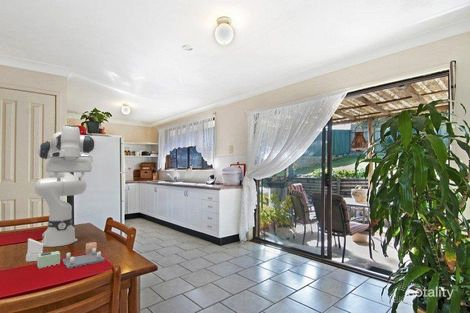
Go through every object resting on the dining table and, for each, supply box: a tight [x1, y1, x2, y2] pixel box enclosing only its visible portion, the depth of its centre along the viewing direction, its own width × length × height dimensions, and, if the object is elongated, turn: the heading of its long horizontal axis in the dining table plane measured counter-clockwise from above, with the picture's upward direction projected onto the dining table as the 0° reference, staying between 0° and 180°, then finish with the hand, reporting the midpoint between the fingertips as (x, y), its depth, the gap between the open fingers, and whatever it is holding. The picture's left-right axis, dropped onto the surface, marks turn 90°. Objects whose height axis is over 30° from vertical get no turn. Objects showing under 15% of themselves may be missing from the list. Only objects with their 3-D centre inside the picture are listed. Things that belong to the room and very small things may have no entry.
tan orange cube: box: [85, 241, 98, 255], centre depth 137 cm, size 5×5×5 cm
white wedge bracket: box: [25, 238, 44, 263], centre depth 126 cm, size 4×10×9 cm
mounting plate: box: [61, 248, 106, 270], centre depth 124 cm, size 13×15×4 cm
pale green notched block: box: [36, 250, 61, 269], centre depth 119 cm, size 5×8×6 cm, turn 132°
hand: (69, 180), depth 136 cm, fingers open, 8 cm apart
